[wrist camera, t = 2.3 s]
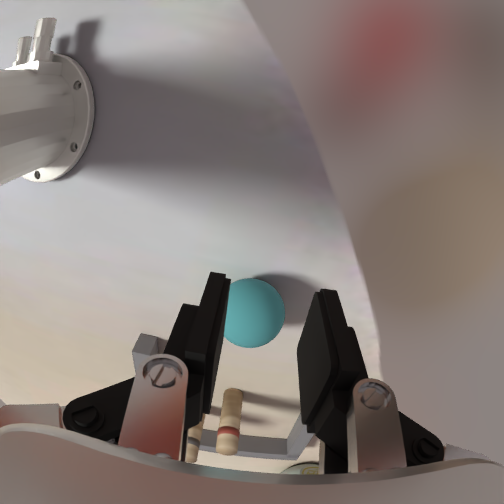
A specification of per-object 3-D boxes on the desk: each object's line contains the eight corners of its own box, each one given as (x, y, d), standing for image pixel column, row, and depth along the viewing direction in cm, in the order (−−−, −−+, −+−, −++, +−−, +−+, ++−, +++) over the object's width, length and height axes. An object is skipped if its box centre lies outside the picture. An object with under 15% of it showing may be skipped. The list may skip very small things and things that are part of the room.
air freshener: (269, 471, 48) (267, 515, 39) (290, 457, 45) (290, 505, 36) (315, 477, 50) (317, 517, 41) (339, 463, 46) (343, 507, 37)
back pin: (189, 400, 37) (176, 453, 30) (207, 403, 38) (197, 457, 30) (189, 409, 39) (177, 460, 31) (206, 412, 39) (196, 464, 31)
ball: (223, 261, 27) (212, 300, 22) (289, 271, 28) (293, 312, 22) (217, 313, 30) (207, 356, 25) (277, 322, 30) (277, 366, 25)
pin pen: (140, 333, 32) (131, 351, 30) (340, 362, 33) (344, 382, 30) (154, 424, 42) (150, 439, 39) (296, 445, 42) (296, 460, 39)
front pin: (224, 386, 36) (215, 444, 28) (244, 389, 36) (238, 448, 28) (223, 397, 37) (214, 453, 29) (242, 400, 37) (236, 456, 29)
